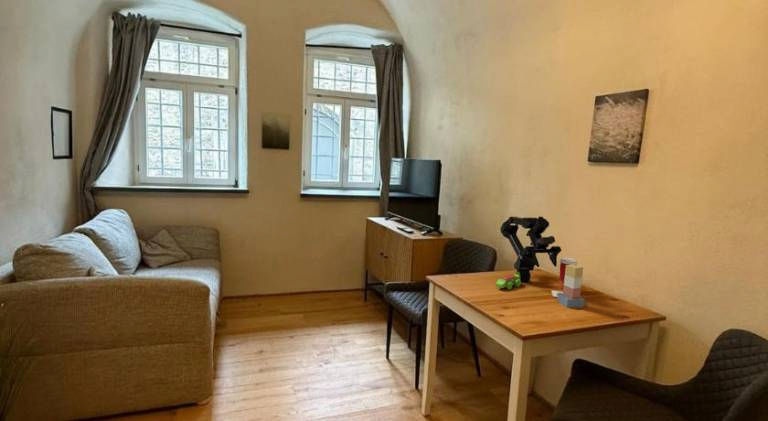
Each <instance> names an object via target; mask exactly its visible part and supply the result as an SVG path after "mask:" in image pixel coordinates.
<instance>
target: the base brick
mask: <svg viewBox="0 0 768 421" xmlns="http://www.w3.org/2000/svg"><path fill="white" fill-rule="evenodd" d="M557 302H558V303H560V304H562V305H563V306H564V307H566V308H569V309H571V308H573V309H574V308H576V309H577V308H579V309H581V308H583V309H584V308H585V302H586V299H585V298H583V297H581V296H580V297H579V298H574V299H571V298H569V297H566V296H564V295H563V293H559V294H558V297H557Z"/></svg>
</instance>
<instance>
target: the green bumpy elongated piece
mask: <svg viewBox="0 0 768 421" xmlns="http://www.w3.org/2000/svg"><path fill="white" fill-rule="evenodd" d="M521 285H522V282H521V280H520V273H519V272H517V271H515V273H514V275H513V274H508V275H505V276H503V277H501V278H499V279H498V280H497V281H496V282H495V287H497V288H501V289H503V288H506V289H508V290H511V289H512V287H513V286H515V287H518V288H519V287H521Z"/></svg>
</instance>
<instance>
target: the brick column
mask: <svg viewBox="0 0 768 421" xmlns="http://www.w3.org/2000/svg"><path fill="white" fill-rule="evenodd" d="M583 271H584V266H580V265H578V264H577V265H575V264H571V265H566V270H565V279H564V288H563V289H562V290H563V291H562V292H563V295H564V296H566V297H569V298H571V299H574V298H579V297H581V289H582V280H583Z"/></svg>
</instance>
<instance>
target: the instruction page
mask: <svg viewBox="0 0 768 421" xmlns="http://www.w3.org/2000/svg"><path fill="white" fill-rule="evenodd" d="M559 293H563V291H561V290H560V291H559V290H551V295H552V297H554V298H558V294H559Z"/></svg>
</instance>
